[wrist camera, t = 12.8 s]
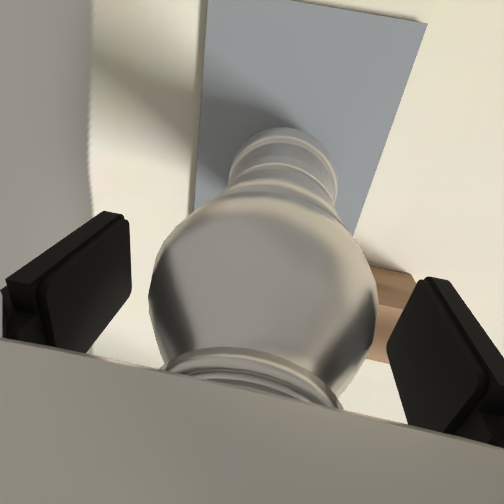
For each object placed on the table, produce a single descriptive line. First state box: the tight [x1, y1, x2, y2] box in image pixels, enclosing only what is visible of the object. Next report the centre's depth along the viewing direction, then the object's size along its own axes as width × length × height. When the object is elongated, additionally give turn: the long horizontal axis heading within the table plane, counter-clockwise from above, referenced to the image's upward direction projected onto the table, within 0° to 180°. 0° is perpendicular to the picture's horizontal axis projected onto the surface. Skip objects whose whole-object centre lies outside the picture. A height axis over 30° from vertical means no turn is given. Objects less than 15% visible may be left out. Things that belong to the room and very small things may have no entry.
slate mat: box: [194, 0, 427, 236], centre depth 22 cm, size 18×12×1 cm, turn 171°
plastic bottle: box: [148, 127, 379, 410], centre depth 13 cm, size 6×7×20 cm
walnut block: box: [366, 266, 416, 364], centre depth 25 cm, size 5×5×5 cm
